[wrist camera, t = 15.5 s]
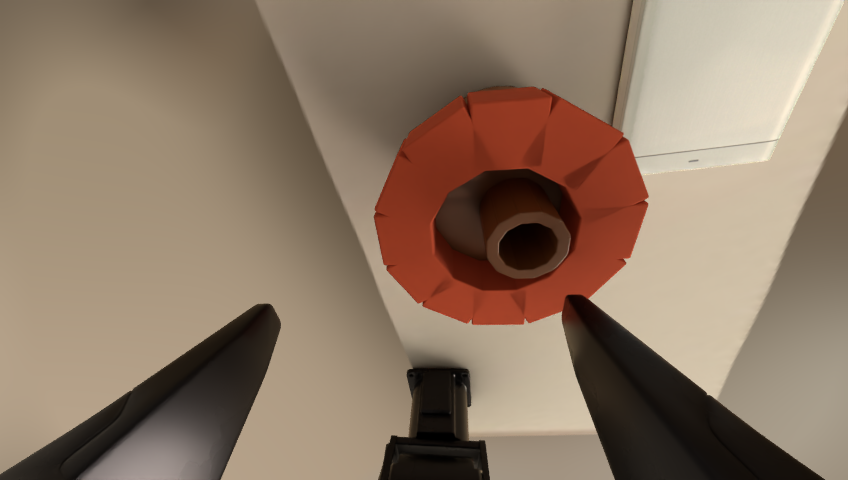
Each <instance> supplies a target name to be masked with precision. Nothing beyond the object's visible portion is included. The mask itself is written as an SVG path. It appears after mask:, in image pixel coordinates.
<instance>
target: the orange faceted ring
mask: <svg viewBox="0 0 848 480" xmlns="http://www.w3.org/2000/svg"><path fill="white" fill-rule="evenodd" d="M623 135H624V133H623V132H621V131H619V130H617V129H616V128H614V127H612V126H610V125H608V124H607V123H605V122H603V121H601V120H600V119H598V118H596V117H594V116H593V115H591V114H589V113H587V112H586V111H584V110H582V109H580V108H578V107H577V106H575V105H573V104H571V103H570V102H568V101H566V100H564V99H563V98H561V97H559V96H557V95H555V94H553V93H551V92H550V91H548V90H546V89H544V88H542V89H541V90H539V89H538V88H536V87H524V88H513V89H502V90H490V91H479V92H469V93H468V95H467V104H466V102H465V100H464V98H463V97H462V96H459V97H458V98H456V99H455V100H453V101H452V102H451V103H449V104H448V105H446V106H445V107H444V108H442V109H441V110H440V111H438V112H437V113H435V114H434V115H433V116H431V117H430V118H429V119H427V120H426V121H424V122H423V123H422V124H420V125H419V126H418V127H416V128H415V129H413V130H412V131H411V132H410V133H409V135H408V137H407V139H404V141H403V143H402V145H401V147H400V150H399V152H398V154H397V156H396V159H395V161H394V163H393V166H392V168H391V170H390V173H389V175H388V178H387V180H386V182H385V185H384V187H383V190H382V192H381V194H380V197H379V199H378V202H377V204H376V206H375V211H376V213H375V215H374V220H375V225H376V230H377V235H378V240H379V244H380V249H381V254H382V259H383V263H384V265H387V271H388V272H389V273H390V274H391V275H392V276H393V277H394V278H395V280H396V281H397V282H398V283H399V284H400V285H401V286H402V287H403V288H404V289H405V290H406V291H407V292H408V293H409V294H410V295H411V296H412V298H413V299H414V300H415V301H416V302H417V303H421V302H423V307H425V308H428V309H430V310H433V311H436V312H438V313H441V314H443V315H446V316H449V317H451V318H454V319H456V320H459V321H462V322H464V323H469V321H470V320H471V319H472V324H473V325H511V324H524V319H526V320H527V321H528V323H531V322H534V321H537V320H540V319H542V318H545V317H548V316H550V315H553V314H556V313H559V312H561V311H563V306H564V300H565V297H566V296H567V295H571V294H581V295H583V296H585V297H586V298H587V299H588V298H589V297H591V296H592V295H593V294H594V293H595V292H596V291H597V290H598V289H599V288H600V287H602V286H603V285H604V284H605V283H606V282H607V281H608V280H609V279H610V278H611V277H612V276H614V275H615V274H616V273H617V272H618V271H619V270H620V269H621V268H622V267H623V266H625V265H626V262H625V260H624V259H623V258H630V257H631V254H632V251H633V248H634V245H635V242H636V239H637V236H638V233H639V231H640V228H641V225H642V222H643V219H644V216H645V213H646V210H647V207H648V203H647V202H646V201H645V199H647V198H648V193H647V190H646V187H645V184H644V182H643V179H642V176H641V173H640V170H639V167H638V165H637V162H636V159H635V156H634V153H633V150H632V148H631V145H630V142H629V140H628V139H627V138H625V137H623ZM525 168H529V169H531V170H533V171H535V172H537V173H539V174H541V175H543V176H544V177H546V178H548V179H550V180H552V181H554V182H556V183H558V185H559V187H560V189H561V191H562V193H563V194H562V200H561V206H560V212H559V216H560V217H561V219H562V220H563V222H564V224H565V226H566V228H567V229H568V231H569V233H570V235H571V240H570V245H569V251H568V254H567V256H566V257H565V258H564V259H563V261H562V262H561V263H560V264H559V265H558V266H557V267H556V268H555V269H554V270H552V271H550V272H548V273H545V274H543V275H541V276H538V277H536V278H521V279H515V278H512V277H509V276H507V275H504V274H502V273H499V272H498V271H496V270H495V268H494V267H493V266H492V264H491V263H490V262H489V260H481V261H479V260H476V259H474V258H472V257H469V256H467V255H465V254H462V253H460V252H458V251H455V250H453V249H452V248H451V247H450V245H449V244H448V243H447V241H446V240H445V239H444V237H443V236H442V235H441V234H440V232H439V231H438V230H437V228H436V218H435V217H436V215H437V213H438V211H439V209H440V208H441V206H442V204H443V202H444V200H445V199H446V197H447V195H448V193H449V192H451V191H453V190H454V189H456V188H458V187H459V186H461V185H463V184H464V183H466V182H468V181H469V180H471V179H473V178H474V177H476V176H478V175H479V174H481V173H483V172H484V171H492V170H508V169H525Z"/></svg>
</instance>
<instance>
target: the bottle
mask: <svg viewBox="0 0 848 480" xmlns="http://www.w3.org/2000/svg"><path fill="white" fill-rule="evenodd" d="M513 88H516V87H513V86H496V87H490V88H485V89H482V90H479V91H490V90H502V89H513ZM479 91H476V92H479ZM464 100H465V102H466V104H467V96H466V97H465V98H464ZM562 194H563V193H562V191H561V189H560V187H559V185H558V183H556V182H554V181H552V180H550V179H548V178H546V177H544V176H543V175H541V174H539V173H537V172H535V171H533V170H531V169H529V168H525V169H508V170H492V171H484V172H483V173H481V174H479V175H478V176H476V177H474V178H473V179H471V180H469V181H468V182H466V183H464V184H463V185H461V186H459V187H458V188H456V189H454V190H453V191H451V192H449V193H448V195H447V197H446V199H445V200H444V202H443V204H442V206H441V208H440V209H439V211H438V213H437V215H436V217H435V218H436V228H437V230H438V231H439V232H440V234H441V235H442V236H443V237H444V239H445V240H446V241H447V243H448V244H449V245H450V247H451V248H452V249H453V250H455V251H458V252H460V253H462V254H465V255H467V256H469V257H472V258H474V259H476V260H479V261H481V260H489V262H490V263H491V264H492V266H493V267H494V268H495V270H496V271H498V272H499V273H502V274H504V275H507V276H509V277H512V278H515V279H521V278H536V277H538V276H541V275H543V274H545V273H548V272H550V271H552V270H554V269H555V268H556V267H557V266H558V265H559V264H560V263H561V262H562V261H563V259H564V258H565V257H566V256H567V254H568V251H569V245H570V240H571V235H570V233H569V231H568V229H567V228H566V226H565V224H564V222H563V220H562V219H561V217H560V216H559V212H560V206H561V200H562Z"/></svg>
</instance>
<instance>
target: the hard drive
mask: <svg viewBox="0 0 848 480" xmlns="http://www.w3.org/2000/svg"><path fill="white" fill-rule="evenodd" d="M844 1H845V0H633V6H632V12H631V18H630V24H629V29H628V35H627V42H626V47H625V53H624V59H623V65H622V72H621V78H620V83H619V89H618V95H617V101H616V107H615V113H614V119H613V125H612V127H614V128H616V129H617V130H619V131H621V132H623V133H624V135H623V137H625V138H627V139H628V140H629V142H630V145H631V148H632V150H633V153H634V156H635V159H636V162H637V165H638V167H639V170H640V173H641V175H648V174H657V173H666V172H675V171H684V170H694V169H703V168H711V167H720V166H728V165H737V164H746V163H755V162H762V161H766V160H770V158H771V155H772V153H773V151H774V149H775V147H776V145H777V143H778V140H779V138H780V137H781V135H782V133H783V130H784V128H785V126H786V124H787V121H788V119H789V117H790V115H791V113H792V111H793V109H794V106H795V104H796V102H797V100H798V98H799V96H800V94H801V92H802V90H803V88H804V86H805V84H806V81H807V79H808V77H809V75H810V73H811V71H812V69H813V67H814V64H815V62H816V60H817V58H818V56H819V54H820V52H821V50H822V48H823V46H824V44H825V41H826V39H827V37H828V35H829V33H830V31H831V29H832V27H833V25H834V23H835V21H836V18H837V16H838V14H839V12H840V10H841V7H842V5H843V3H844Z"/></svg>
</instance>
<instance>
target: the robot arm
mask: <svg viewBox="0 0 848 480" xmlns="http://www.w3.org/2000/svg"><path fill="white" fill-rule="evenodd" d="M562 324H563V328H564V332H565V336H566V340H567V344H568V348H569V352H570V356H571V360H572V363H573V367H574V371H575V374H576V377H577V380H578V383H579V386H580V388H581V391H582V394H583V396H584V399H585V401H586V404H587V407H588V409H589V412H590V415H591V417H592V420H593V423H594V425H595V428H596V431H597V433H598V436H599V439H600V441H601V444H602V446H603V449H604V452H605V454H606V457H607V460H608V462H609V465H610V468H611V470H612V473H613V475H614V478H615V480H825V479H823V478H822V477H821V476H819V475H818V474H816V473H815V472H813V471H812V470H811V469H809V468H808V467H806V466H805V465H803V464H802V463H800V462H799V461H798V460H796V459H795V458H793V457H792V456H790V455H789V454H788V453H786V452H785V451H784V450H782V449H781V448H779V447H778V446H776V445H775V444H774V443H772V442H771V441H770V440H768V439H767V438H765V437H764V436H763V435H761V434H760V433H758V432H757V431H756V430H754V429H753V428H752V427H750V426H749V425H748V424H747V423H745V422H744V421H743V420H741V419H740V418H739V417H737V416H736V415H735V414H733V413H732V412H731V411H730V410H728V409H727V408H726V407H724V406H723V405H722V404H721V403H719V402H718V401H717V400H716V399H714V398H713V397H712V396H710V395H707V393H706V392H705V391H704V390H703V389H701V388H700V387H699V386H698V385H696V384H695V383H694V382H693V381H691V380H690V379H689V378H687V377H686V376H685V375H684V374H682V373H681V372H680V371H679V370H677V369H676V368H675V367H674V366H672V365H671V364H670V363H668V362H667V361H666V360H665V359H663V358H662V357H661V356H660V355H658V354H657V353H656V352H654V351H653V350H652V349H651V348H649V347H648V346H647V345H646V344H644V343H643V342H642V341H641V340H639V339H638V338H637V337H635V336H634V335H633V334H632V333H630V332H629V331H628V330H627V329H625V328H624V327H623V326H622V325H620V324H619V323H618V322H616V321H615V320H614V319H613V318H611V317H610V316H609V315H608V314H606V313H605V312H604V311H602V310H601V309H600V308H599V307H597V306H596V305H595V304H594V303H592V302H591V301H590V300H589V299H587V298H586V297H585V296H583V295H581V294H571V295H567V296H566V297H565V300H564V306H563V311H562ZM280 328H281V323H280V319H279V317H278V316H277V314H276V312H275V310H274V308H273V306H272V305H270V304H257V305H255V306H253V307H252V308H250V309H249V310H248V311H246V312H245V313H243V314H242V315H240V316H239V317H237V318H236V319H234V320H233V321H232V322H230V323H229V324H227V325H226V326H224V327H223V328H221V329H220V330H218V331H217V332H215V333H214V334H213V335H211V336H210V337H208V338H207V339H205V340H204V341H202V342H201V343H199V344H198V345H197V346H195V347H194V348H192V349H191V350H189V351H188V352H186V353H185V354H184V355H182V356H180V357H179V358H177V359H176V360H175V361H173V362H172V363H170V364H169V365H167V366H166V367H164V368H163V369H161V370H160V371H158V372H157V373H156V374H154V375H153V376H151V377H150V378H148V379H147V380H145V381H144V382H142V383H141V384H140V385H138V386H137V387H135V388H134V389H133V390H132V391H129V392H128V393H126V394H125V395H123V396H122V397H121V398H119V399H117V400H116V401H115V402H113V403H112V404H110V405H109V406H107V407H106V408H104V409H103V410H101V411H100V412H98V413H97V414H95V415H94V416H92V417H91V418H89V419H88V420H86V421H85V422H83V423H81V424H80V425H78V426H77V427H75V428H73V429H72V430H71V431H69V432H67V433H66V434H64V435H63V436H61V437H59V438H58V439H56V440H54V441H53V442H51V443H50V444H48V445H46V446H45V447H43V448H42V449H40V450H39V451H37V452H35V453H34V454H32V455H30V456H29V457H27V458H26V459H24V460H22V461H21V462H19V463H18V464H16V465H15V466H13V467H11V468H10V469H8V470H6V471H5V472H3V473H2V474H0V480H220V479H221V477H222V475H223V472H224V470H225V468H226V466H227V463H228V461H229V459H230V456H231V454H232V452H233V449H234V447H235V445H236V442H237V440H238V438H239V435H240V433H241V431H242V428H243V426H244V424H245V421H246V419H247V416H248V414H249V412H250V410H251V407H252V405H253V403H254V400H255V398H256V396H257V394H258V391H259V389H260V387H261V384H262V382H263V379H264V377H265V374H266V372H267V369H268V366H269V363H270V360H271V356H272V353H273V350H274V347H275V344H276V341H277V337H278V335H279V331H280ZM407 378H408V383H409V387H410V391H411V395H412V409H411V418H410V428H409V437H397V436H393V435H392V436H391V439H390V443H389V444H387V445H386V450H385V456H384V462H383V466H382V469H381V472H380V476H379V478H378V480H490V476H489V469H488V460H487V453H486V444H485V441H484V440H479V441H469V433H468V411H467V407H470V406H471V393H470V374H469V370H467V369H409V370H408V371H407Z"/></svg>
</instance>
